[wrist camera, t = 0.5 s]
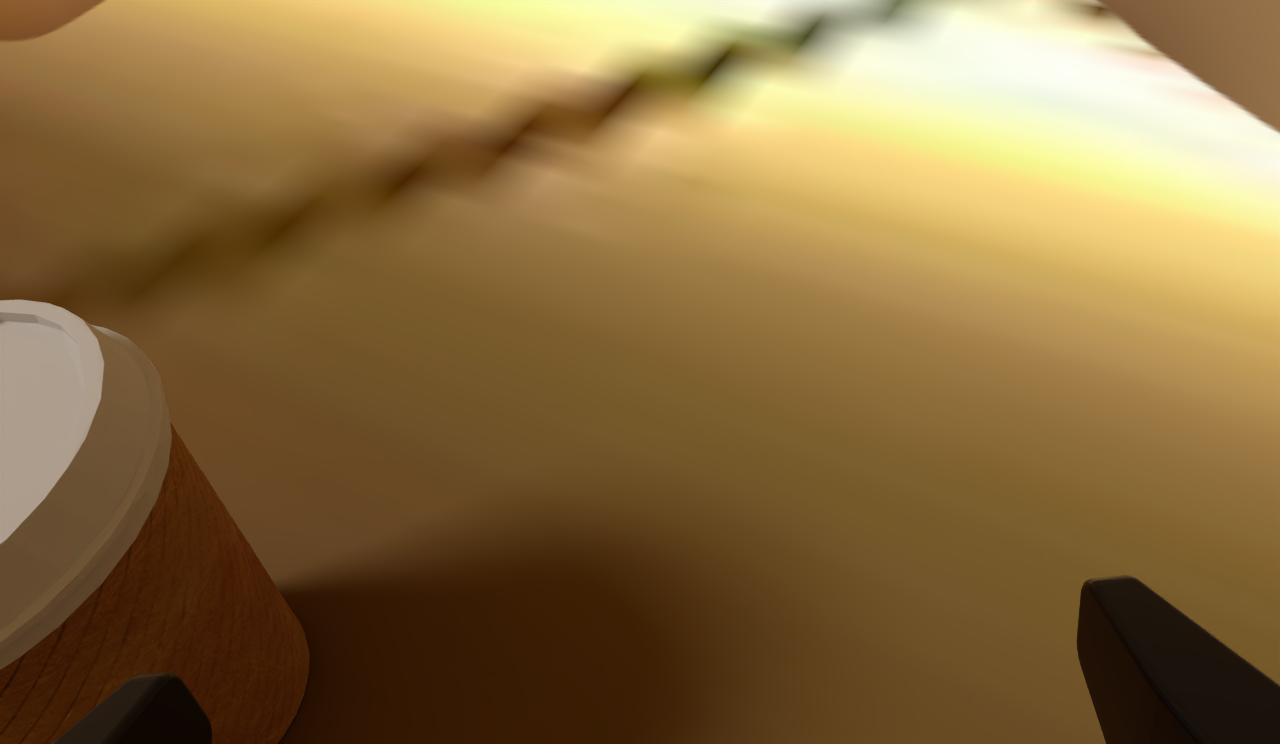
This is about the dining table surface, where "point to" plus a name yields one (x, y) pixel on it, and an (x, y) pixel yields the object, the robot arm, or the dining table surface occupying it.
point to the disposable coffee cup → (121, 547)
